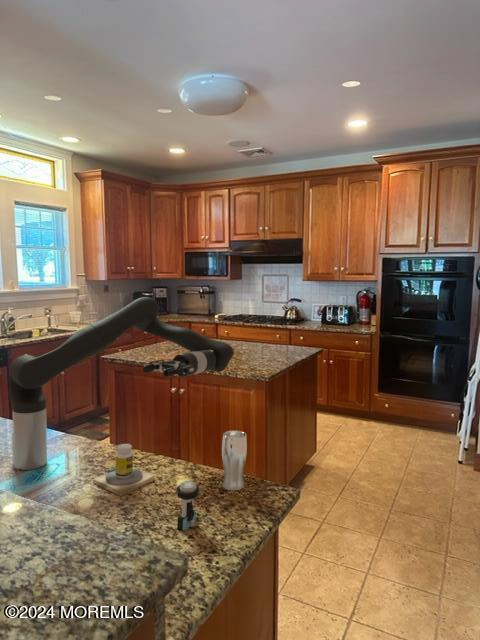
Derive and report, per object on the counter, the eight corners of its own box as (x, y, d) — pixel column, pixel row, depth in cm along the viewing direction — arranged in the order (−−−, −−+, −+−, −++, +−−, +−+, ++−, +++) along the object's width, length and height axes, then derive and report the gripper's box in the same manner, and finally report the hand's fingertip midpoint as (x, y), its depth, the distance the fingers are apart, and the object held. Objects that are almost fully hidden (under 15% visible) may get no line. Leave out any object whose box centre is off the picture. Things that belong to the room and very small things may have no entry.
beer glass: (249, 483, 126) (251, 432, 124) (239, 494, 119) (240, 440, 118) (227, 478, 128) (229, 428, 127) (216, 488, 122) (217, 436, 121)
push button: (187, 514, 108) (188, 475, 107) (206, 520, 106) (206, 480, 105) (171, 527, 102) (172, 486, 102) (190, 534, 100) (191, 492, 99)
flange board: (92, 482, 123) (92, 476, 123) (126, 468, 133) (126, 462, 133) (121, 495, 116) (121, 488, 116) (154, 479, 126) (154, 473, 126)
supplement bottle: (128, 479, 122) (128, 450, 121) (112, 477, 123) (112, 448, 122) (135, 472, 127) (135, 444, 126) (120, 470, 128) (120, 442, 127)
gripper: (174, 349, 148) (137, 355, 135) (207, 354, 140) (171, 361, 127) (174, 371, 149) (137, 379, 135) (206, 378, 141) (171, 387, 127)
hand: (153, 371), depth 131 cm, fingers open, 8 cm apart
